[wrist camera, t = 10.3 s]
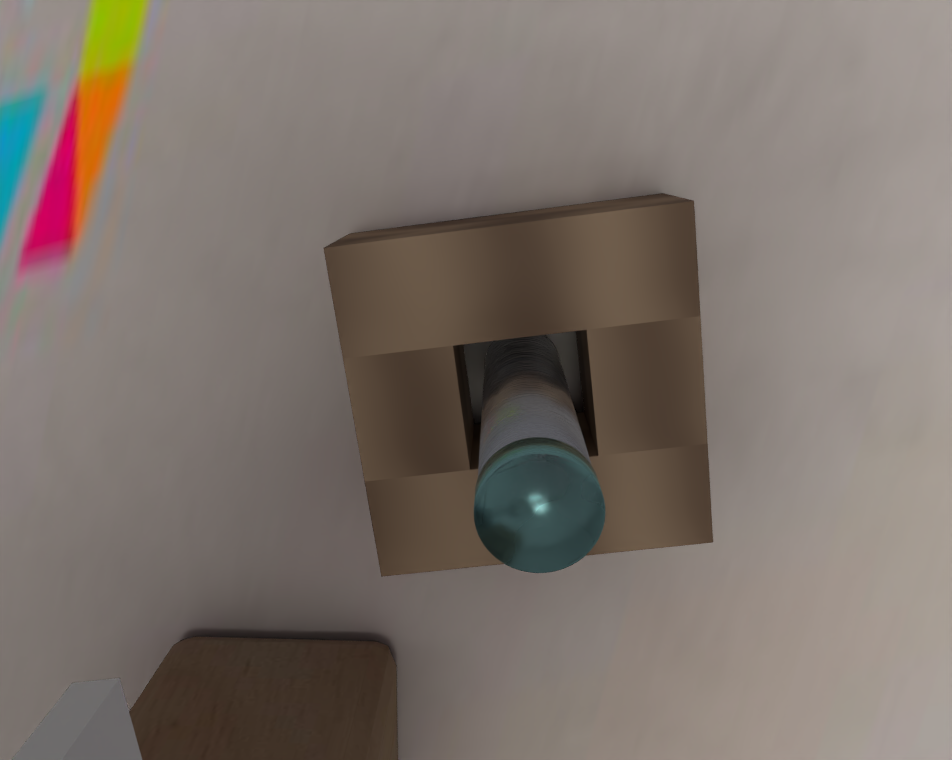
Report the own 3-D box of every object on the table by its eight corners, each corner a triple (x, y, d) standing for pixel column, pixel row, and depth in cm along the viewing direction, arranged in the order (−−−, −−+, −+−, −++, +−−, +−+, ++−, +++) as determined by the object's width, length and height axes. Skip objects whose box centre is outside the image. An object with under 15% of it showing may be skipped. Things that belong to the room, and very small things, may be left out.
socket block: (397, 517, 35) (381, 576, 30) (350, 233, 31) (323, 247, 27) (682, 487, 34) (712, 542, 29) (663, 193, 31) (694, 200, 26)
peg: (488, 406, 33) (482, 578, 20) (478, 332, 32) (465, 459, 19) (564, 397, 33) (611, 565, 20) (556, 322, 32) (599, 444, 19)
